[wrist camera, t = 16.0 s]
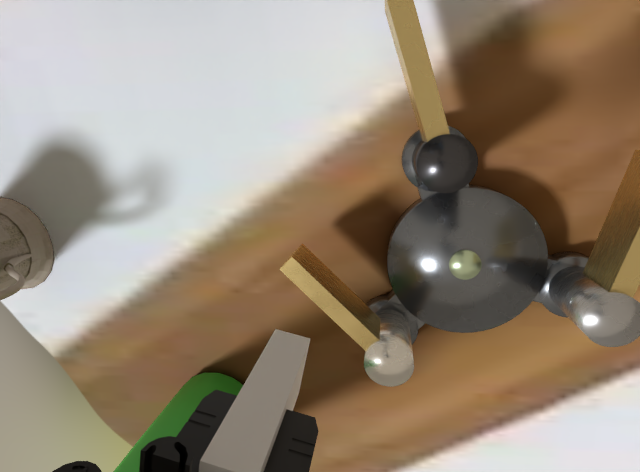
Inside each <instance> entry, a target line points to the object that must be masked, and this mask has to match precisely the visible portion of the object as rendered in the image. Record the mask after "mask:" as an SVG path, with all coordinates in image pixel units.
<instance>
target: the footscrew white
mask: <svg viewBox="0 0 640 472" xmlns="http://www.w3.org/2000/svg"><path fill="white" fill-rule="evenodd" d="M280 270H281V271H282V272H283V273H284V274H285V275H286V276H287V277H288V278H289V279H290V280H291V281H292V282H293V283H294V284H295V285H296V286H298V287H299V288H300V289H301V290H302V291H303V292H304V293H305V294H306V295H307V296H308V297H309V298H310V299H311V300H312V301H313V302H314V303H315V304H316V305H318V306H319V307H320V308H321V309H322V310H323V311H324V312H325V313H326V314H327V315H328V316H329V317H330V318H331V319H332V320H333V321H334V322H335V323H336V324H338V325H339V326H340V327H341V328H342V329H343V330H344V331H345V332H346V333H347V334H348V335H349V336H350V337H351V338H352V339H353V340H354V341H355V342H357V343H358V344H359V345H360V346H361V347H362V348H363V349H364V350H365V357H364V368H365V371H366V373H367V375H368V376H369V377H370V378H371V379H372V380H373V381H374V382H376V383H378V384H380V385H383V386H398V385H401V384H403V383H405V382H406V381H407V380H408V379H409V378H410V377H411V375H412V373H413V370H414V361H413V352H412V343H411V335H410V326H409V323H408V321H407V319H406V318H405V316H404V315H402V314H401V313H400V312H398V311H395V310H390V309H385V310H381V311H378V312H376V313H374V312H373V311H372V310H371V309H370V308H369V307H368V306H367V305H366V304H365V303H364V302H363V301H362V300H361V299H360V298H359V297H358V296H357V295H356V294H354V293H353V292H352V291H351V290H350V289H349V288H348V287H347V286H346V285H345V284H344V283H343V282H342V281H341V280H340V279H339V278H338V277H337V276H336V275H335V274H334V273H333V272H332V271H330V270H329V269H328V268H327V267H326V266H325V265H324V264H323V263H322V262H321V261H320V260H319V259H318V258H317V257H316V256H315V255H314V254H313V253H312V252H311V251H310V250H309V249H308V248H306V247H305V246H304V245H303V244H301V245H300V246H299V247H298V248H297V250H296V251H295V252H294V253H293V254H292V255H291V256H290V257H289V258H288V259H287V261H286V262H285V263H284V264H283V266H282V267H281V268H280Z"/></svg>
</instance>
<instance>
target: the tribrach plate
mask: <svg viewBox="0 0 640 472" xmlns="http://www.w3.org/2000/svg"><path fill="white" fill-rule="evenodd" d="M448 129H449V132H450V134H455V135H459V136H461V137H463V138H465V137H464V136H463V134H462V133H460V132H459V131H458V130H456V129H455V128H453V127H450V126H448ZM465 139H466V138H465ZM421 140H422V138H421V134H420V131H419V130H418V131H417V132H415V133H414V134H413V135H412V136H411V137H410V138H409V139H408V141H407V142H406V144H405V146H404V149H403V152H402V166H403V169H404V172H405V174H406V176H407V178H408V179H409V180H410V181H411V182H412V184H414V185H415V186H416V187H418V191H419V194H420V199H418V200H417V201H415V202H414V203H413V204H412V205H411V206H410V207H409V208H407V210H406V211H405V212H404V213H403V214H402V215H401V217H400V218H399V220H398V221H397V223H396V225H395V227H394V229H393V231H392V233H391V236H390V239H389V244H388V254H387V266H388V275H389V279H390V283H391V285H392V288H393V290H392V291H391V292H390V293H389V294H388V295H381V296H378V297H375V298H373V299H372V300H370V301H369V302H368V303H367V304H366V305H367V306H368V307H369V308H370V309H371V310H372V311H373V312H374V313H376V312H378V311H381V310H385V309H390V310H395V311H398V312H400V313H401V314H402V315H404V316H405V318H406V319H407V321H408V323H409V326H410V335H411V343H412V344H413V343H414V341H415V340H416V337H417V334H418V329H419V328H420V327H422V326H423V325H424V324H425V323H426V324H428V325H431V326H433V327H435V328H439V329H442V330H446V331H451V332H461V333H466V332H478V331H484V330H488V329H492V328H494V327H497V326H500V325H502V324H504V323H506V322H508V321H510V320H511V319H513V318H514V317H516V316H517V315H519V314H520V313H521V312H522V311H523V310H524V309H525V308H527V306H528V305H529V304H530V303H531V302H532V301H536V302H540V303H542V304H543V305H544V306H545V307H546V308H547V309H548V310H549V311H551V312H552V313H554V314H556V315H559V316H562V317H568V316H567V315H566V314H565V313H564V312H563V311H562V310H561V309H560V308H559V307H558V306H557V305H556V304H555V303H554V302H553V301H552V300H551V298H550V296H549V291H548V288H549V283H550V281H551V279H552V278H553V277H554V275H555V274H556V273H558V272H559V271H561V270H562V269H565V268H568V267H572V266H580V267H585V266H586V264H587V261H588V259H589V258H588V257H587V256H585V255H583V254H580V253H576V252H561V253H557V254H554V255H548V251H547V244H546V241H545V237H544V234H543V232H542V230H541V228H540V226H539V224H538V223H537V221H536V220H535V218H534V217H533V216H532V215H531V214H530V213H529V211H528V210H527V209H526V208H524V207H523V206H522V205H521V204H519V203H518V202H516V201H515V200H513V199H511V198H510V197H508V196H506V195H504V194H502V193H500V192H497V191H495V190H493V189H490V188H486V187H482V186H476V185H469V184H467V185H466V186H465V187H463V188H462V189H460V190H458V191H455V192H452V193H439V192H435V191H433V190H431V189H429V188H428V187H427V186H425V184H424V183H423V182H422V181H421V179H420V178H419V177H418V175H417V174H416V173H415V171H414V169H413V166H412V154H413V151H414V149H415V147H416V146H417V144H418V143H419V142H420V141H421Z"/></svg>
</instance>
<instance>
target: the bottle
mask: <svg viewBox="0 0 640 472" xmlns="http://www.w3.org/2000/svg"><path fill="white" fill-rule="evenodd" d="M242 387H243V385H242V384H241V383H240V382H238V381H237V380H235V379H234V378H232V377H229V376H226V375H223V374H221V373H202V374H199V375H196V376H194V377H192V378H191V379H190V380H189V381H188V382H187V383H186V384H185V385H184V386H183V387H182V388H181V389H180V391H179V392H178V393H177V394H176V395H175V397H174V398H173V399H172V400H171V401H170V403H169V404H168V405H167V406H166V408H165V409H164V410H163V411H162V412H161V414H160V415H159V416H158V417H157V418H156V420H155V421H154V422H153V423H152V424H151V426H150V427H149V428H148V429H147V431H146V432H145V433H144V434H143V435H142V437H141V438H140V439H139V440H138V442H137V443H136V444H135V445H134V447H133V448H132V449H131V450H130V452H129V453H128V455H127V456H126V457H125V458H124V459H123V461H122V462H121V463H120V464H119V466H118V467H117V468H116V469H115V471H114V472H139V468H140V453H141V449H143V448H144V447H145V446H146V445H147V444H148V443H149V442H151V441H153V440H155V439H158V438H161V437H167V436H172V437H176V436H177V435H178V434H179V432H180V431H181V429H182V428H183V426H184V425H185V423H186V422H188V419H189V418H190V416H191V415H192V413H193V412H195V409H196V408H197V406H198V405H199V403H200V402H201V401H202V399H203V398H204V397H205V396H207V395H208V394H210V393H211V392H213V391H214V390H220V391H223V392H226V393H230V394H233V395H236V396H237V395H238V394H239V392H240V390H241V388H242Z"/></svg>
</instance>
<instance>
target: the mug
mask: <svg viewBox="0 0 640 472" xmlns="http://www.w3.org/2000/svg"><path fill="white" fill-rule="evenodd" d="M53 260H54V257H53V246H52V242H51V240H50V237H49V234H48V232H47V230H46V228H45V227H44V225H43V224H42V222H41V221H40V219H39V218H38V217H37V216H36V215H35V214H34V213H33V212H32V211H31V210H30V209H28V208H27V207H26V206H24V205H22V204H20V203H18V202H17V201H15V200H12V199H6V198H0V300H2V299H5V298H7V297H9V296H11V295H13V294H14V293H16V292H18V291H19V290H20V289H27V288H34V287H36V286H37V285H39V284H40V283H42V282H44V281H45V279H46V278H47V276H48V275H49V273H50V272H51V269H52V264H53Z"/></svg>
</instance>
